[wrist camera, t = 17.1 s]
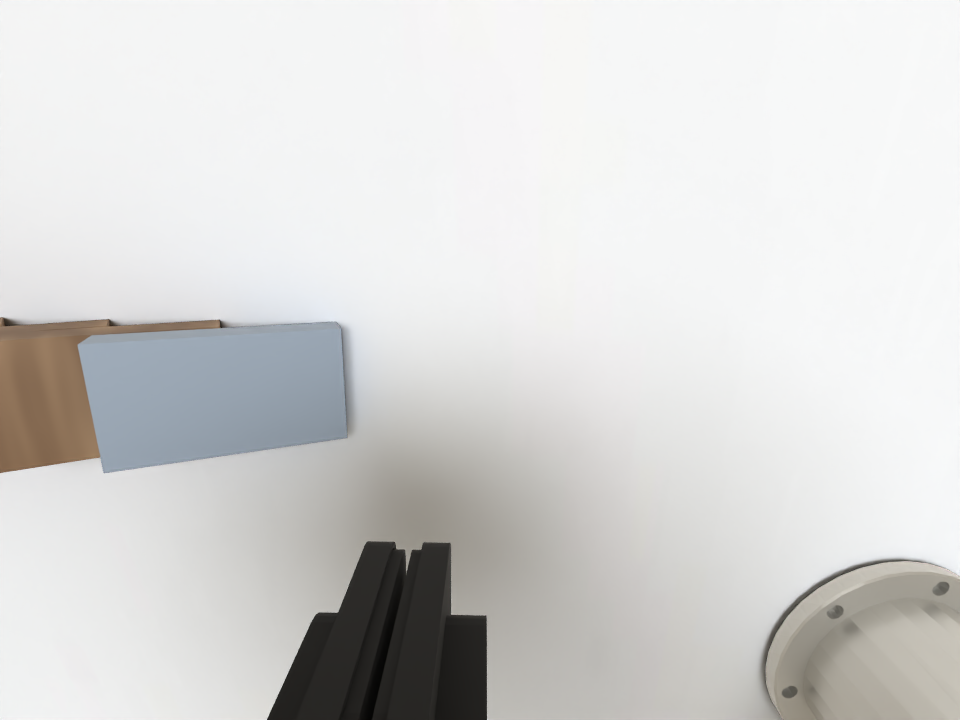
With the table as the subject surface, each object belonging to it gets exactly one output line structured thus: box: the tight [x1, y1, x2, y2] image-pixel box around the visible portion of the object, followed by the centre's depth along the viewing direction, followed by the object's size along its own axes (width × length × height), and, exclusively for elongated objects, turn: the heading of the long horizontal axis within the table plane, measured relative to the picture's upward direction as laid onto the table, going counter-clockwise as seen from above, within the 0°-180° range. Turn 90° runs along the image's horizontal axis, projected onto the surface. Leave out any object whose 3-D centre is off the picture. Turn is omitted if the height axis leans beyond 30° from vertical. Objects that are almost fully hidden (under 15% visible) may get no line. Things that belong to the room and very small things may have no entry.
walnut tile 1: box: [0, 320, 220, 473], centre depth 20 cm, size 2×5×9 cm
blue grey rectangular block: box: [78, 322, 347, 473], centre depth 20 cm, size 2×5×9 cm
